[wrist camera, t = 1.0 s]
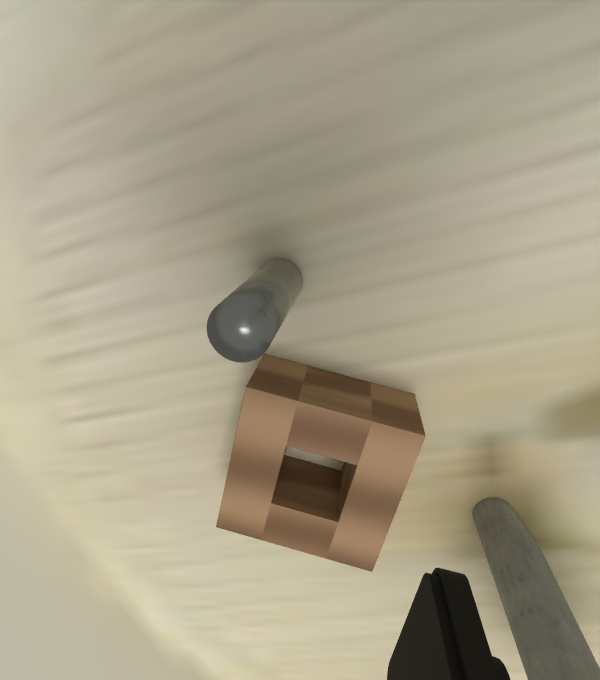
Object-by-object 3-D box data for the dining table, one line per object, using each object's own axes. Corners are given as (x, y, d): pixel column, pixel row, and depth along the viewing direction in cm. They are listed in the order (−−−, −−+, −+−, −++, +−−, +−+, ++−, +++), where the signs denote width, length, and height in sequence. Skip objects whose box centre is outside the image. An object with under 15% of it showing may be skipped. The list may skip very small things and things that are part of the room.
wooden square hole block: (264, 353, 35) (245, 387, 29) (414, 394, 34) (425, 435, 29) (236, 477, 39) (216, 527, 33) (370, 514, 38) (372, 571, 33)
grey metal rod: (264, 253, 32) (212, 291, 21) (307, 264, 32) (278, 308, 21) (255, 295, 33) (202, 352, 22) (297, 306, 33) (264, 369, 22)
